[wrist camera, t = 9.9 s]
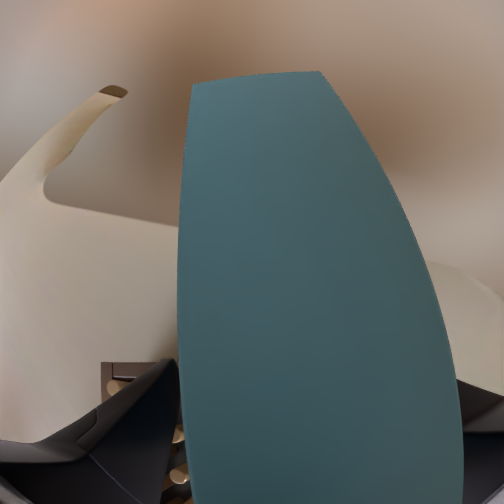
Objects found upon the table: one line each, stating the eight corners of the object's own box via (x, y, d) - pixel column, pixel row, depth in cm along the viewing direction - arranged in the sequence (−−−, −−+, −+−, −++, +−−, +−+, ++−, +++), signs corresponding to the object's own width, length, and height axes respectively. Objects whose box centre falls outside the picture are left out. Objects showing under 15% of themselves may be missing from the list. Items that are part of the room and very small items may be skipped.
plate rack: (266, 515, 11) (250, 570, 5) (156, 508, 11) (101, 542, 5) (248, 365, 15) (222, 350, 10) (141, 371, 16) (75, 354, 10)
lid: (337, 428, 13) (534, 491, 1) (266, 440, 13) (217, 605, 1) (316, 300, 17) (380, 73, 5) (251, 309, 17) (191, 83, 5)
